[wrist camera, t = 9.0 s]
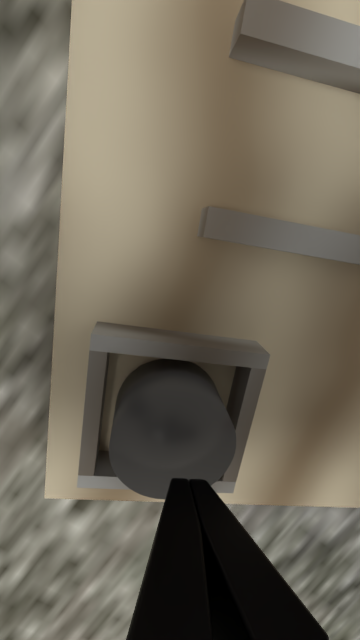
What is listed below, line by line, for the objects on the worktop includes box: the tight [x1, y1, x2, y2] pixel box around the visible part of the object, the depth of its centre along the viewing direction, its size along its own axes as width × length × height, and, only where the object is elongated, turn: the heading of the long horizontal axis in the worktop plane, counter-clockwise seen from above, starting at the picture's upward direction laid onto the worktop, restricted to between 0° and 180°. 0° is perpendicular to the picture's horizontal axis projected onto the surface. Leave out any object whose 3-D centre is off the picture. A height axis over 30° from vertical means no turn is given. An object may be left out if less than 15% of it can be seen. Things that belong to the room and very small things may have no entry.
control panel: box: [45, 0, 360, 508], centre depth 11 cm, size 20×17×3 cm
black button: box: [109, 359, 236, 500], centre depth 9 cm, size 4×4×2 cm
